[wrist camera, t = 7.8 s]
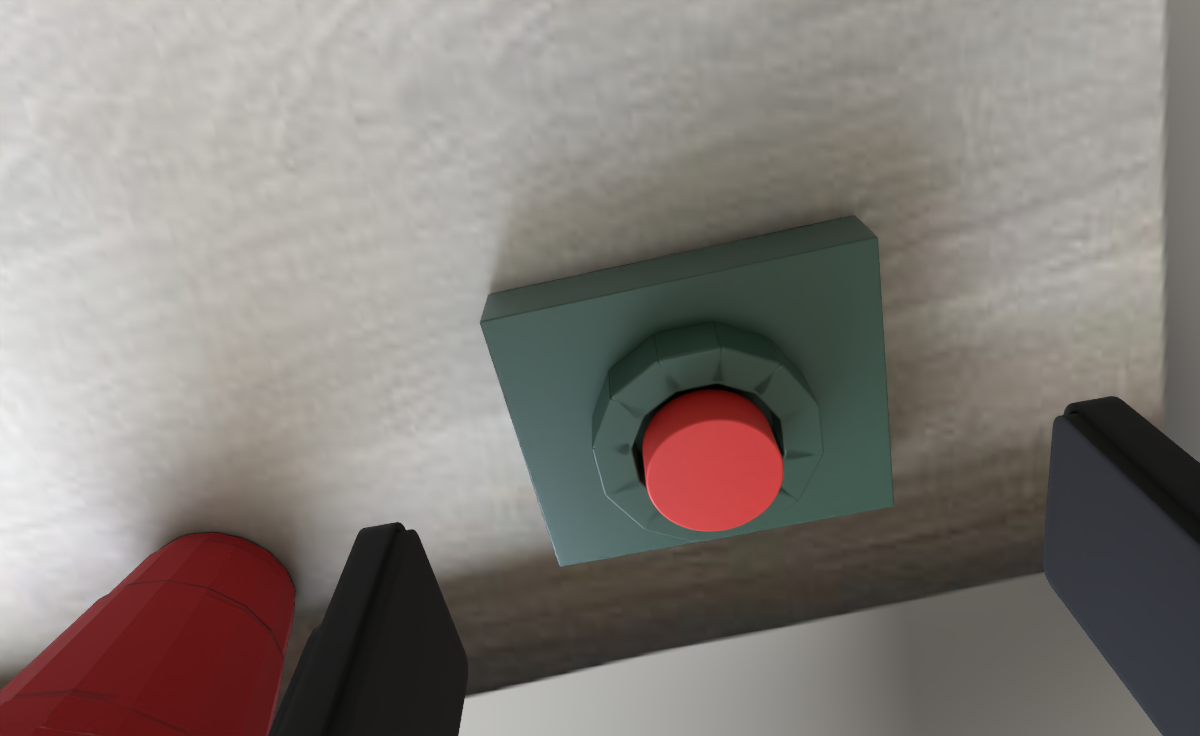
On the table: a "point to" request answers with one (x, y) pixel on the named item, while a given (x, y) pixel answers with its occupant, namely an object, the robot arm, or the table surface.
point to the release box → (699, 379)
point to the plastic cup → (166, 650)
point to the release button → (711, 460)
